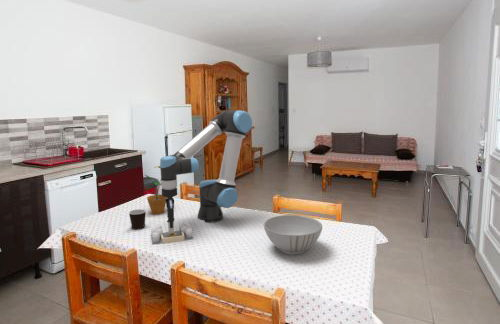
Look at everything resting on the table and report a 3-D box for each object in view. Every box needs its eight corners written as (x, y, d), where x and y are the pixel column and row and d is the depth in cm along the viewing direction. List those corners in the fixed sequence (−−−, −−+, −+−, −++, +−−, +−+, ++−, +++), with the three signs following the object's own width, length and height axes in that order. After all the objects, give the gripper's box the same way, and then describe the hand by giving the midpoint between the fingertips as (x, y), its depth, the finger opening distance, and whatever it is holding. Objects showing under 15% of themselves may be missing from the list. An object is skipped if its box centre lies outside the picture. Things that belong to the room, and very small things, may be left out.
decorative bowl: (308, 267, 141) (308, 240, 139) (253, 253, 155) (252, 227, 153) (329, 244, 164) (330, 220, 161) (279, 234, 178) (280, 211, 175)
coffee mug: (141, 232, 181) (140, 214, 179) (127, 231, 182) (125, 213, 181) (152, 225, 192) (151, 208, 190) (138, 224, 194) (137, 207, 192)
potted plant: (163, 206, 227) (160, 162, 222) (177, 212, 213) (175, 165, 208) (137, 212, 215) (134, 165, 210) (151, 219, 201) (148, 169, 196)
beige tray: (189, 231, 182) (189, 221, 181) (194, 241, 169) (193, 230, 168) (150, 236, 176) (150, 225, 175) (152, 247, 163) (151, 235, 162)
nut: (167, 237, 171) (167, 233, 171) (177, 236, 173) (176, 232, 172) (168, 240, 167) (167, 236, 167) (178, 239, 169) (177, 235, 168)
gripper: (160, 185, 173) (162, 229, 177) (162, 191, 161) (164, 239, 165) (175, 184, 175) (177, 227, 179) (178, 190, 163) (180, 237, 167)
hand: (171, 233), depth 172 cm, fingers closed
